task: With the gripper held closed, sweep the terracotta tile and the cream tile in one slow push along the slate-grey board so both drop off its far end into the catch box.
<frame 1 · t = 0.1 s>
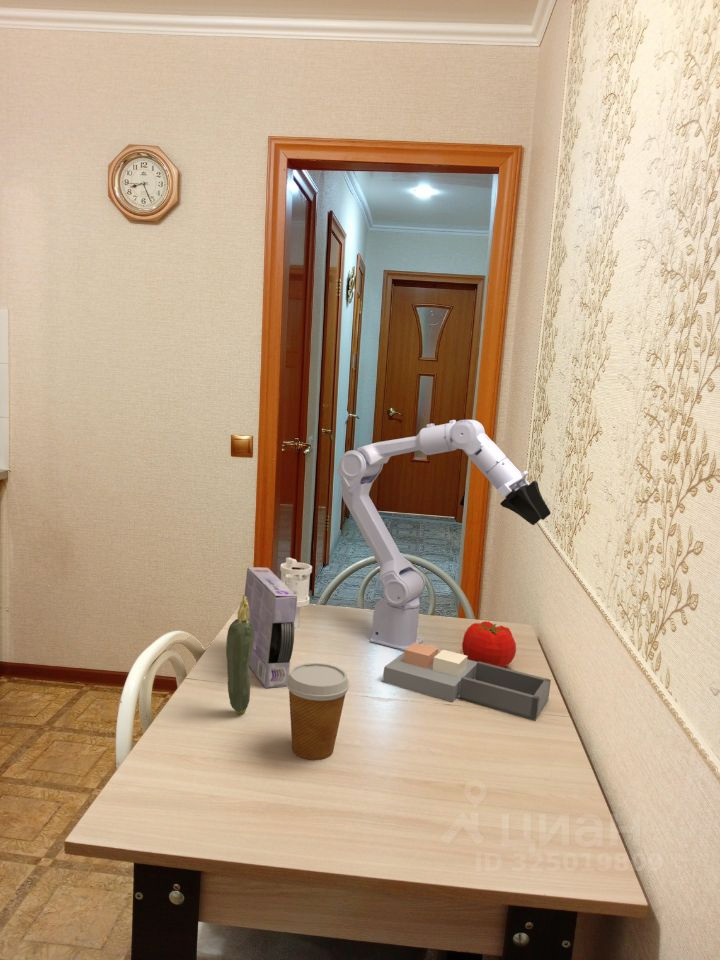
hand: (542, 519, 139), 32 cm above the table, tool tilted 50°, fingers open, 7 cm apart
slate board: (430, 679, 138), on the table
vegetable: (235, 715, 117), on the table
tomato: (486, 666, 147), on the table
tile terracotta: (420, 661, 139), point 3 cm above the table, touching slate board
cake pan box: (263, 670, 136), on the table
disposable coffee cup: (312, 750, 108), on the table
strainer: (291, 626, 161), on the table
tile cream: (449, 669, 136), point 3 cm above the table, touching slate board
catch box: (504, 699, 131), on the table
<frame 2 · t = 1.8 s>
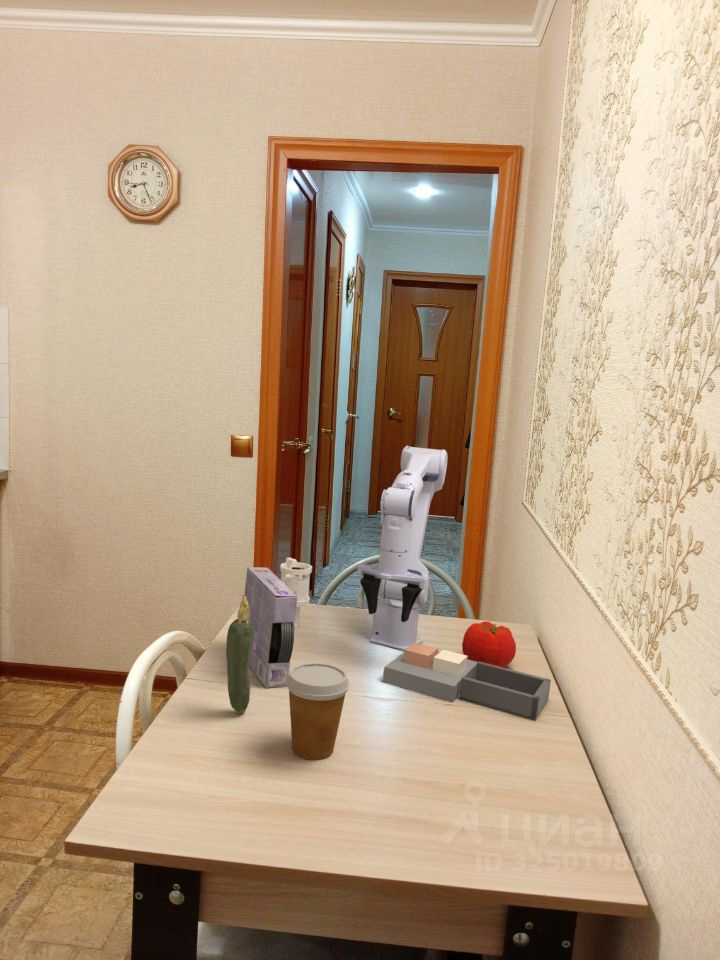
hand: (388, 616, 140), 10 cm above the table, tool pointing down, fingers open, 6 cm apart
nothing on the table moved.
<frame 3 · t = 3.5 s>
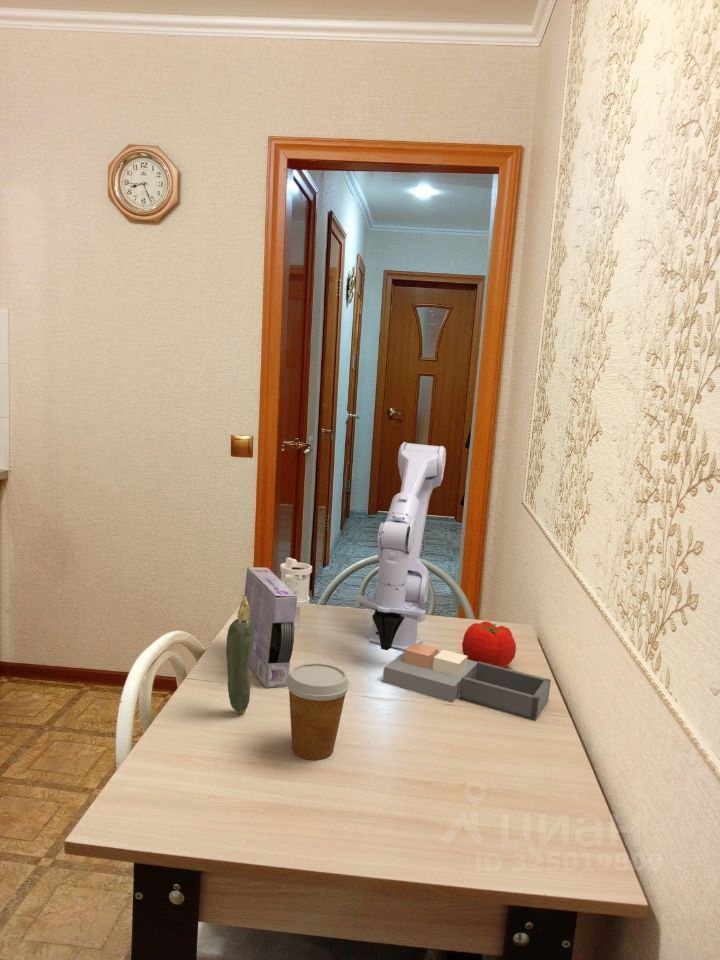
hand: (386, 648, 142), 4 cm above the table, tool pointing down, fingers closed
nothing on the table moved.
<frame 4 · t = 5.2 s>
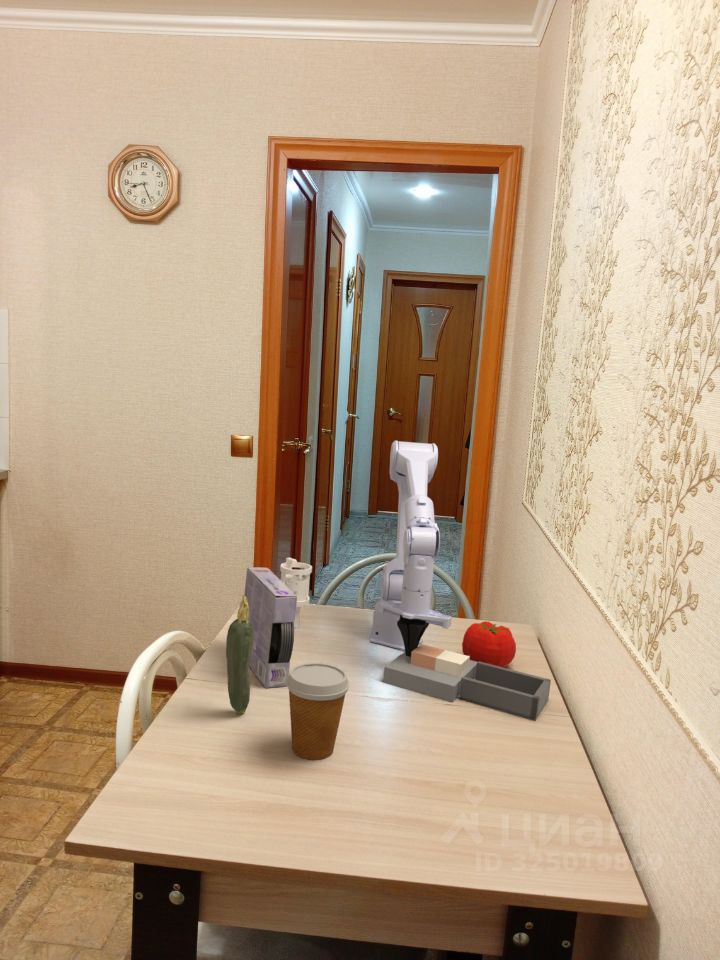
hand: (410, 655, 139), 4 cm above the table, tool pointing down, fingers closed
tile terracotta: (427, 663, 138), point 3 cm above the table, touching gripper, slate board, tile cream
tile cream: (451, 669, 136), point 3 cm above the table, touching slate board, tile terracotta
everything else where it was.
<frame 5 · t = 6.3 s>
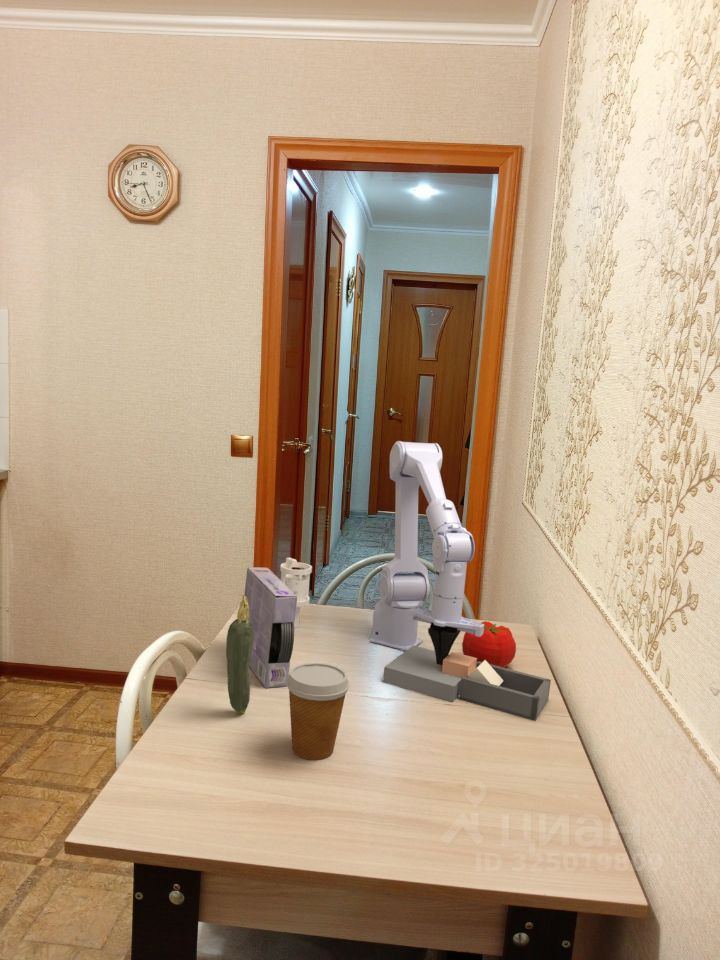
hand: (441, 663, 136), 4 cm above the table, tool pointing down, fingers closed
tile terracotta: (458, 671, 135), point 3 cm above the table, touching gripper, tile cream
tile cream: (481, 682, 133), point 2 cm above the table, tilted 38°, touching tile terracotta
everything else where it was.
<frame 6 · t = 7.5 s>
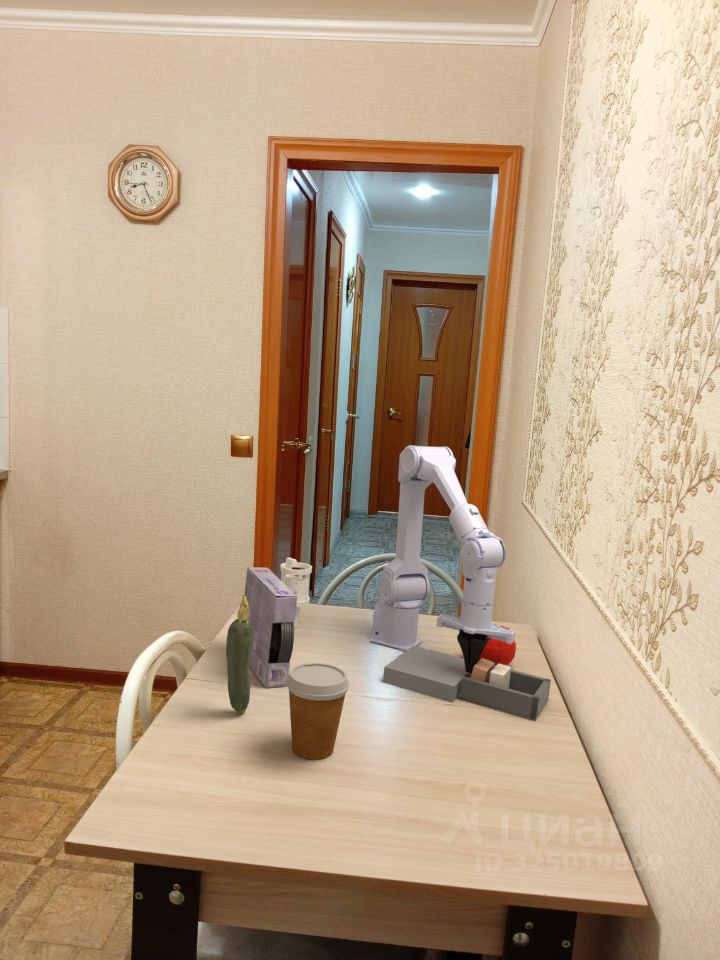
hand: (470, 670, 134), 4 cm above the table, tool pointing down, fingers closed
tile terracotta: (474, 674, 134), point 3 cm above the table, tilted 99°, touching catch box, gripper
tile cream: (492, 680, 132), point 3 cm above the table, tilted 90°, touching catch box
everything else where it was.
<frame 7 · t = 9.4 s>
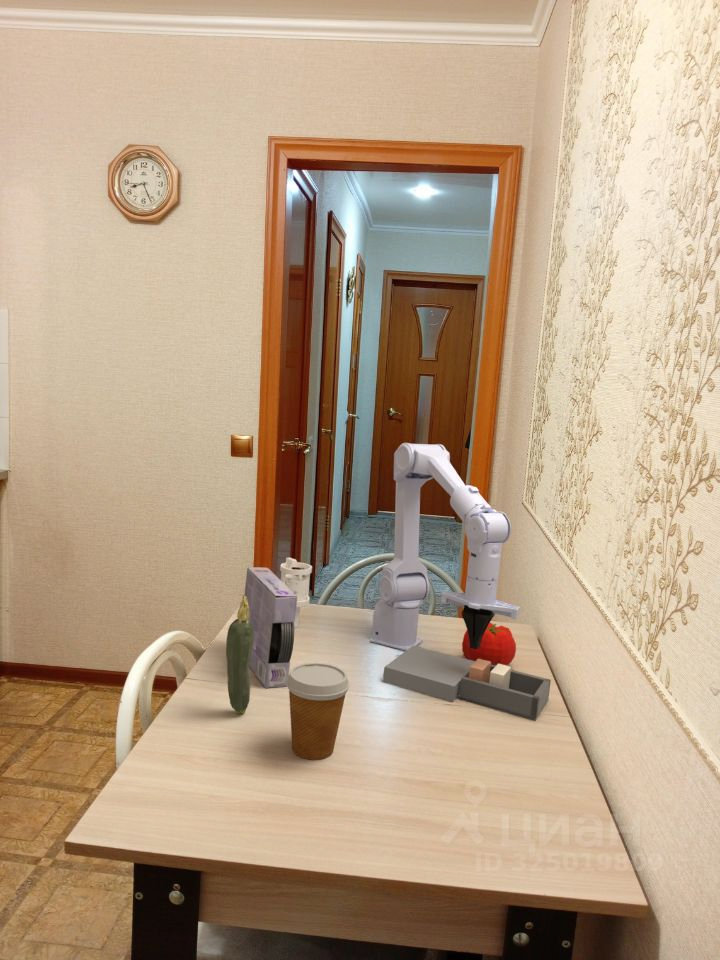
hand: (474, 647, 133), 8 cm above the table, tool pointing down, fingers closed
tile terracotta: (472, 675, 134), point 3 cm above the table, tilted 90°, touching catch box
everything else where it was.
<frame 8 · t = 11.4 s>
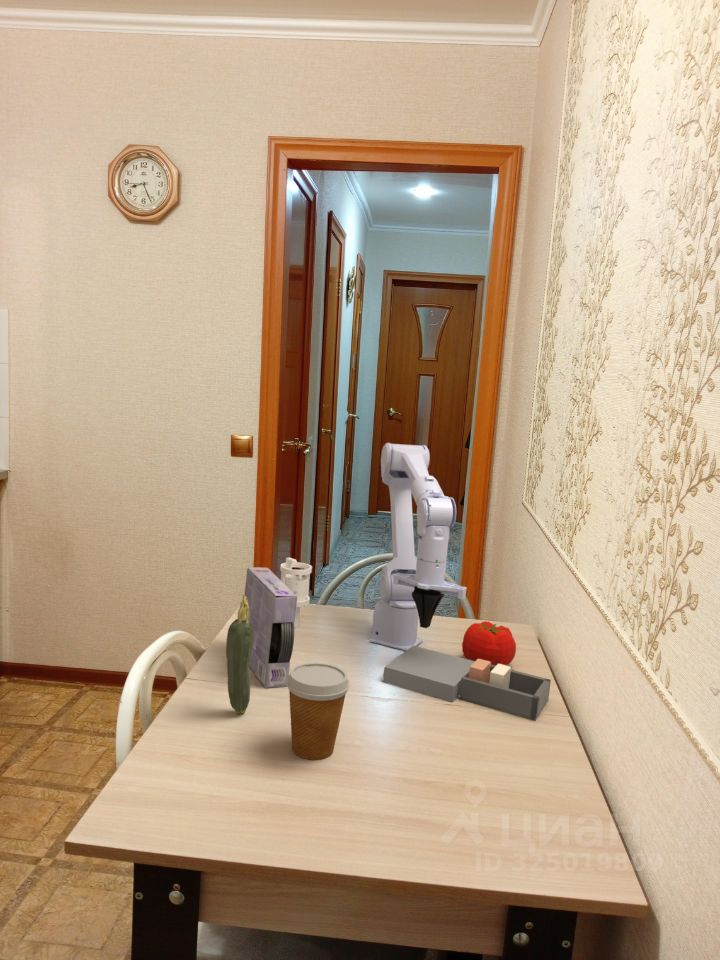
hand: (425, 626, 140), 9 cm above the table, tool pointing down, fingers closed
nothing on the table moved.
at the end: tile cream inside the target area (2.0 cm from its centre), point 3.0 cm above the table; tile terracotta inside the target area (5.9 cm from its centre), point 3.0 cm above the table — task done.
